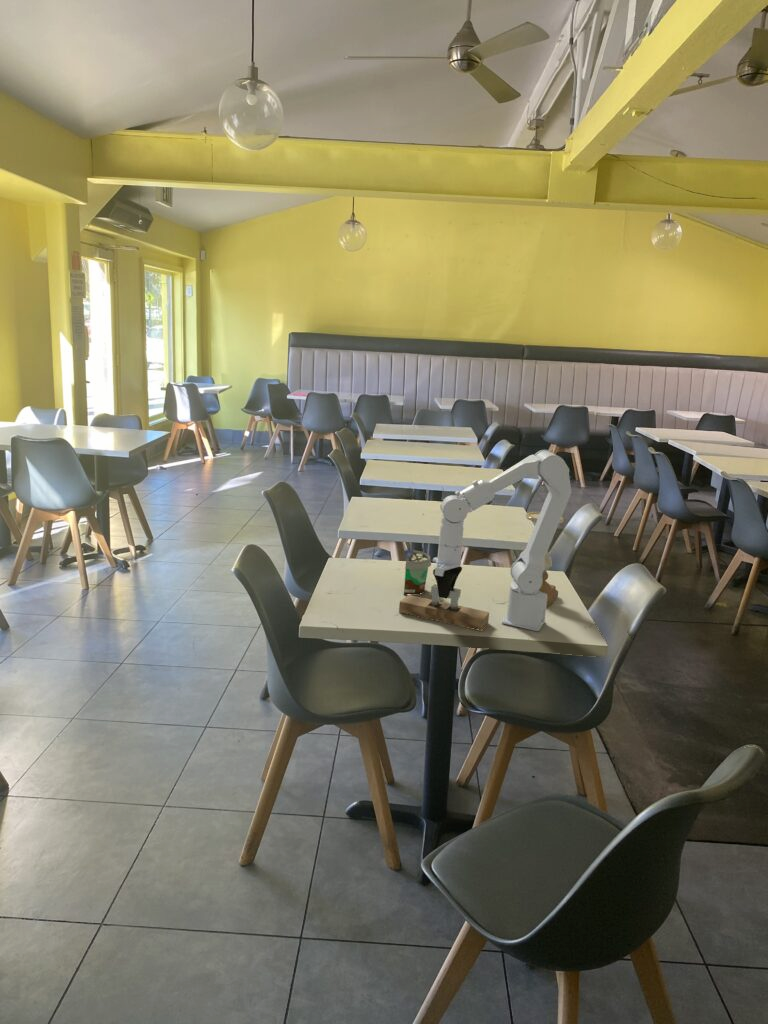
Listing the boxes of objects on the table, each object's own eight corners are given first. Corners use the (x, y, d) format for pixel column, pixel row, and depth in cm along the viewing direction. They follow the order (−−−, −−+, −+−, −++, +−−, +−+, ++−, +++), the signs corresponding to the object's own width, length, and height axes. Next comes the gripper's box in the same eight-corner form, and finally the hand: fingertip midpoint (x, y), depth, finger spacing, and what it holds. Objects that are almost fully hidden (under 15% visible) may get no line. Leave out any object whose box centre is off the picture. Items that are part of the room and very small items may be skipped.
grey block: (458, 610, 184) (460, 589, 183) (455, 613, 182) (457, 592, 180) (432, 604, 186) (434, 584, 185) (429, 607, 184) (431, 586, 183)
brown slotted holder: (488, 623, 183) (489, 612, 183) (481, 631, 178) (482, 619, 177) (407, 605, 192) (408, 594, 191) (398, 612, 186) (399, 601, 185)
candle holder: (509, 598, 202) (519, 516, 197) (521, 588, 212) (531, 509, 206) (548, 607, 198) (559, 523, 192) (558, 596, 207) (569, 515, 202)
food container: (425, 599, 197) (428, 564, 195) (402, 596, 198) (405, 561, 196) (431, 585, 209) (434, 552, 207) (410, 582, 210) (413, 549, 208)
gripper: (444, 535, 188) (439, 584, 191) (425, 547, 175) (420, 600, 178) (470, 539, 186) (465, 590, 189) (452, 553, 172) (447, 606, 176)
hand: (445, 595), depth 183 cm, fingers closed on grey block, 2 cm apart
